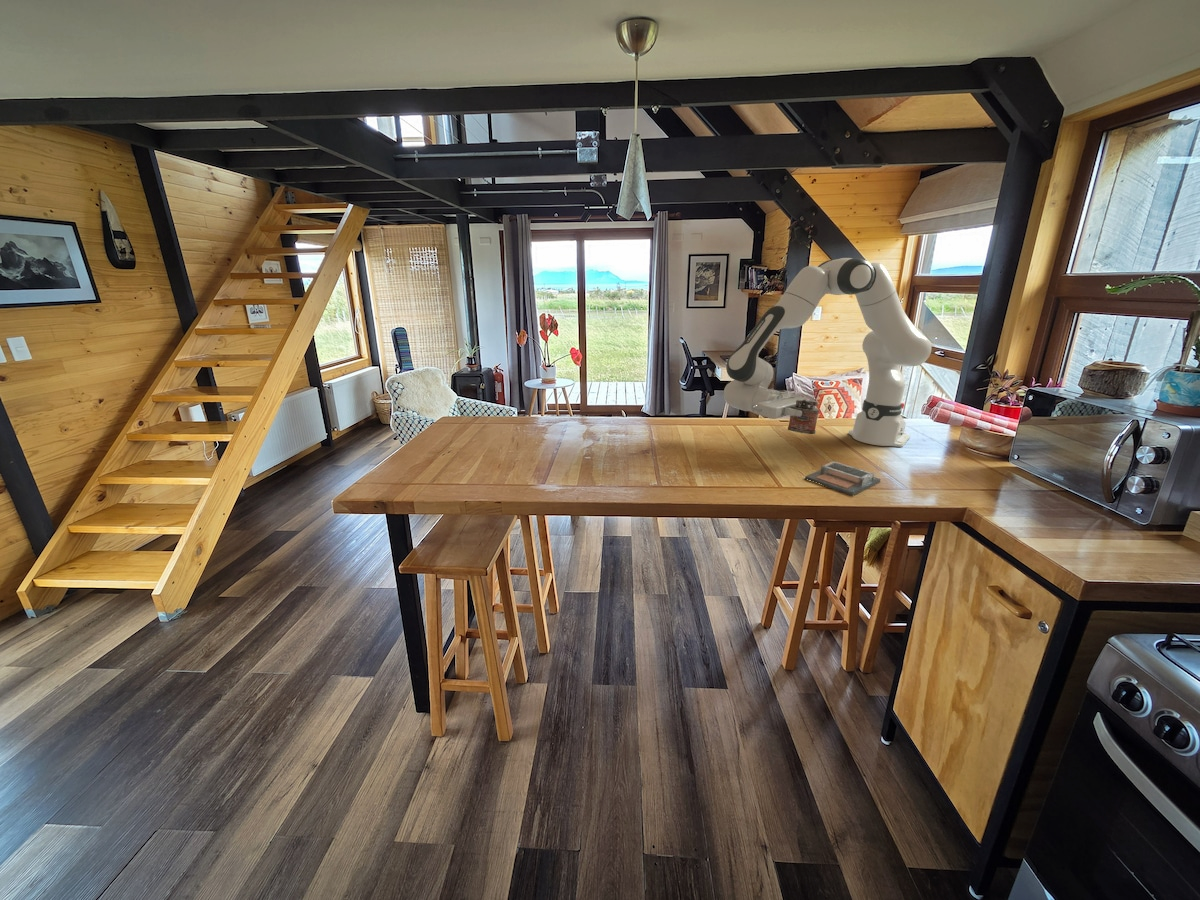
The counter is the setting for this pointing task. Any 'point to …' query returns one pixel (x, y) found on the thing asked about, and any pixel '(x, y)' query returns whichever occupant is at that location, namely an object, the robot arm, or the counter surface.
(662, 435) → the counter surface
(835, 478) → the plate
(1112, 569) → the counter surface
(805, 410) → the lighter
